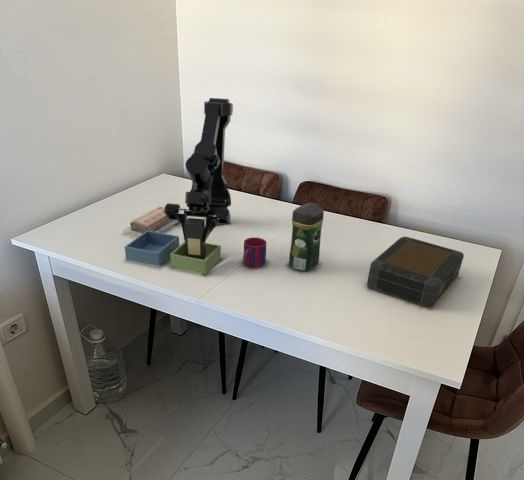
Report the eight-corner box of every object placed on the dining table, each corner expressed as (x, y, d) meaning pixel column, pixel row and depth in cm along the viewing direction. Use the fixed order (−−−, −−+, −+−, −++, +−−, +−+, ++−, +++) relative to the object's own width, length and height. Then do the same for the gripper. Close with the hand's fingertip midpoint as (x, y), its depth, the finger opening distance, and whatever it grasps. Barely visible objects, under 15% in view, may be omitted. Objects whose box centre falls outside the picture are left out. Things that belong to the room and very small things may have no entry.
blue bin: (148, 243, 159) (146, 230, 157) (179, 249, 157) (178, 236, 154) (126, 260, 149) (124, 246, 146) (159, 267, 146) (158, 253, 144)
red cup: (269, 261, 152) (270, 241, 148) (251, 274, 145) (251, 252, 141) (251, 255, 155) (252, 235, 151) (232, 267, 148) (232, 246, 144)
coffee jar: (299, 256, 156) (305, 198, 145) (322, 263, 153) (329, 204, 142) (283, 267, 150) (288, 207, 138) (306, 275, 146) (313, 214, 135)
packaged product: (156, 203, 174) (179, 209, 171) (157, 216, 177) (180, 223, 174) (121, 220, 161) (146, 227, 158) (123, 234, 164) (147, 241, 161)
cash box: (395, 256, 159) (400, 233, 154) (458, 275, 150) (466, 252, 145) (362, 287, 142) (366, 262, 137) (431, 310, 133) (438, 285, 128)
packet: (189, 255, 150) (187, 217, 143) (205, 257, 150) (204, 219, 143) (186, 261, 147) (184, 223, 140) (203, 263, 147) (201, 224, 140)
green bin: (187, 253, 155) (187, 239, 152) (220, 259, 152) (220, 245, 150) (171, 268, 146) (169, 254, 144) (205, 275, 144) (205, 261, 141)
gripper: (163, 175, 139) (155, 228, 136) (228, 180, 137) (222, 234, 135) (172, 193, 150) (165, 242, 147) (233, 198, 148) (227, 248, 146)
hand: (194, 241), depth 144 cm, fingers closed on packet, 5 cm apart
